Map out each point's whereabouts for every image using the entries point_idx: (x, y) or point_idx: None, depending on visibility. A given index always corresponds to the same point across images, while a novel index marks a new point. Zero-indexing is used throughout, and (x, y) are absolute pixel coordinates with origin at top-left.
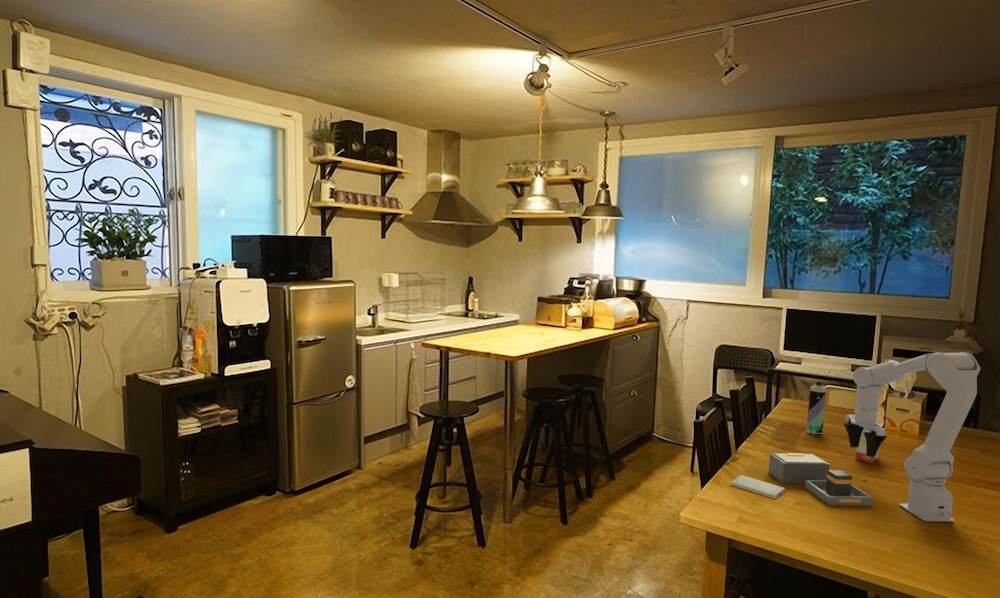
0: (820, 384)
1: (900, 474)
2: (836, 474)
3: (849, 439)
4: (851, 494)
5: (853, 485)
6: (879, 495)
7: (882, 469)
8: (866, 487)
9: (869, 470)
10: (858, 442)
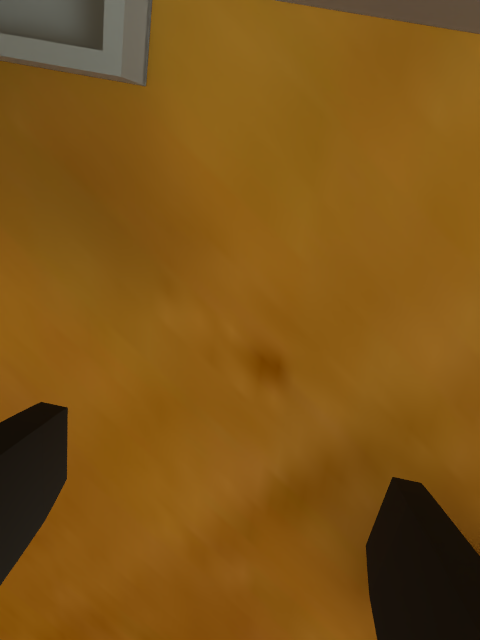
0: None
1: (313, 621)
2: None
3: (471, 562)
4: (6, 12)
5: (15, 57)
6: (37, 260)
7: None
8: (163, 284)
9: None
10: (380, 614)
